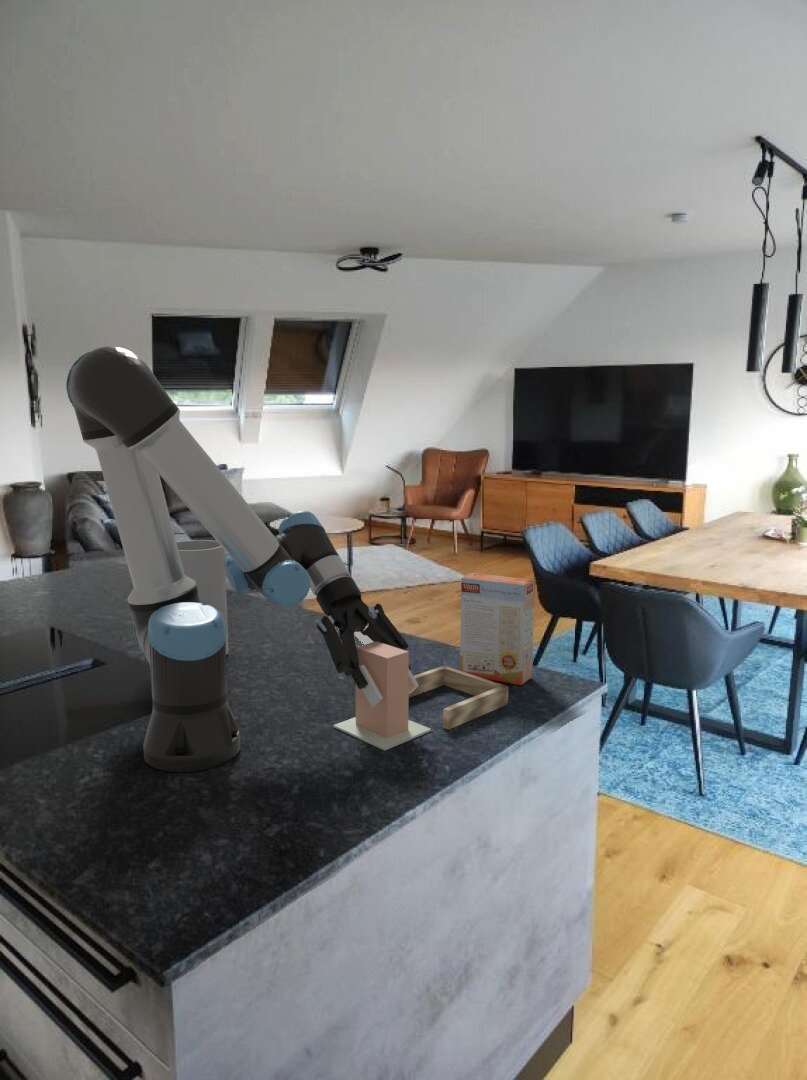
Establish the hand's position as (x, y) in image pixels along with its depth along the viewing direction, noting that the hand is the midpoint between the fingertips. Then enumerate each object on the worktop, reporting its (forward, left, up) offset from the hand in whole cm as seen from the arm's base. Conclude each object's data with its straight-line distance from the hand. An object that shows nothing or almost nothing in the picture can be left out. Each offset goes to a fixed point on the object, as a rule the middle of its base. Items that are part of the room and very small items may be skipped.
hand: (395, 696), depth 134 cm
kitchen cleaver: (+30, +41, -8) cm, 51 cm away
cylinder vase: (-2, +60, -7) cm, 61 cm away
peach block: (0, +3, -7) cm, 7 cm away
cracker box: (+35, +6, -7) cm, 36 cm away
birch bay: (+16, +3, -7) cm, 18 cm away
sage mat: (0, +3, -7) cm, 8 cm away
